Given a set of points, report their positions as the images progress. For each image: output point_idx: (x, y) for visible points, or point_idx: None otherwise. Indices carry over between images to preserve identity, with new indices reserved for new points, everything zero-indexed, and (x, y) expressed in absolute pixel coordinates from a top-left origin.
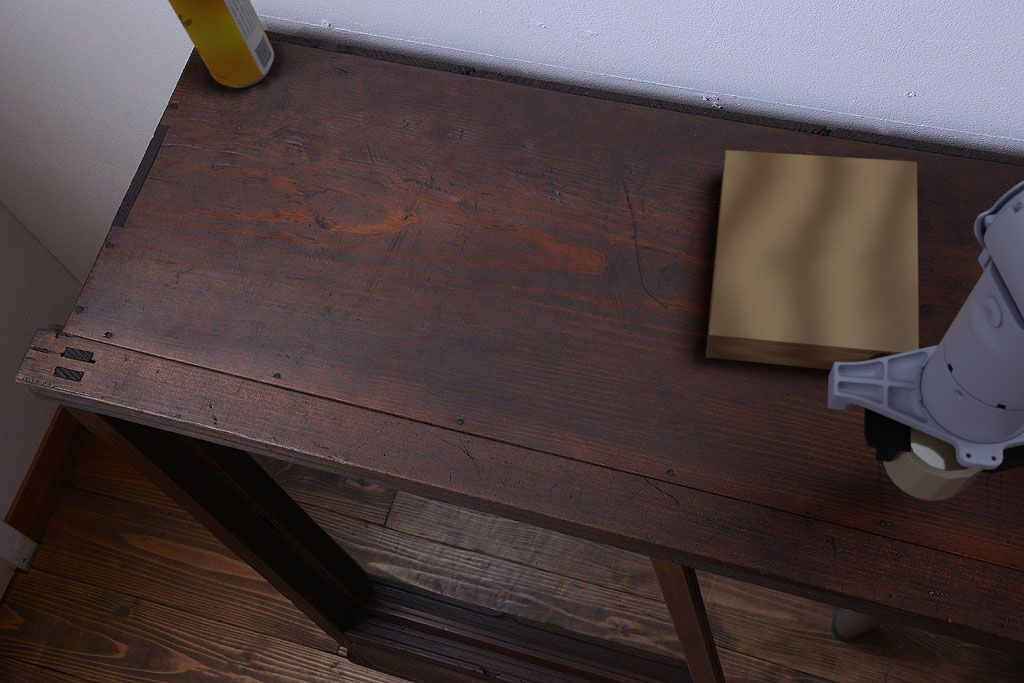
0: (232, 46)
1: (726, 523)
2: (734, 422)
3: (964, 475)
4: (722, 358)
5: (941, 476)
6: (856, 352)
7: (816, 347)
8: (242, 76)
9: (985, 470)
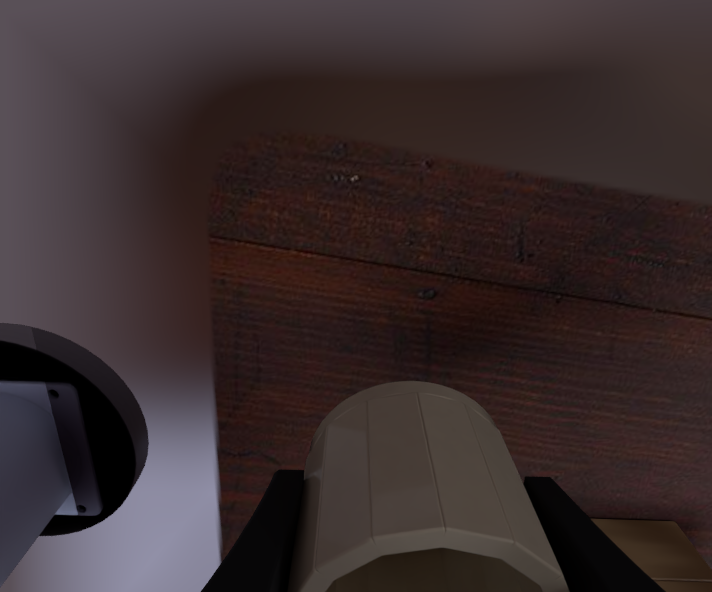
0: None
1: (708, 270)
2: (651, 433)
3: (391, 541)
4: (651, 522)
5: (466, 531)
6: None
7: None
8: None
9: (298, 496)
